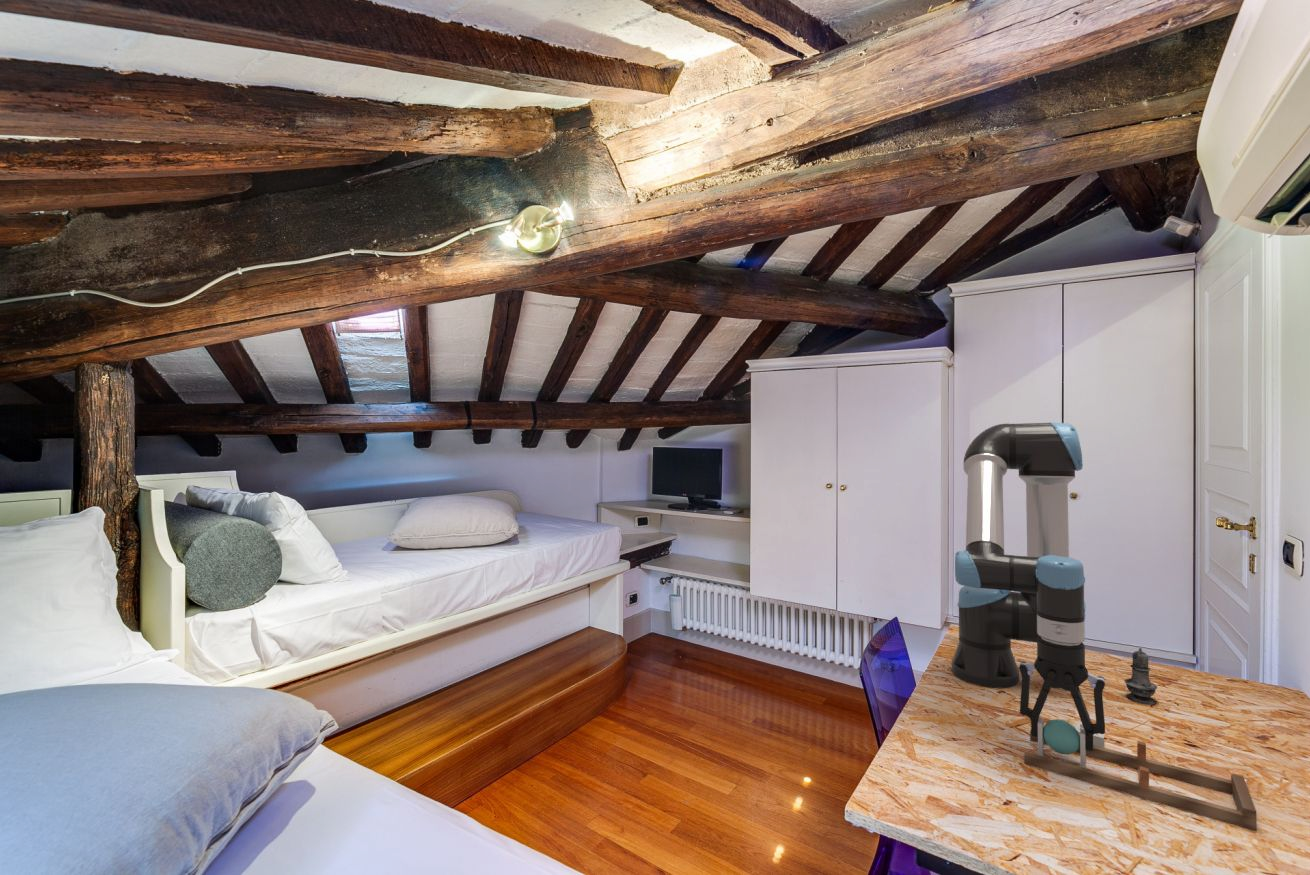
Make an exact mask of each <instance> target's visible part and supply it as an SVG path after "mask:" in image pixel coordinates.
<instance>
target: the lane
mask: <svg viewBox="0 0 1310 875" xmlns="http://www.w3.org/2000/svg"><path fill="white" fill-rule="evenodd" d="M1029 741H1031V742H1033V743H1038V737H1034V736H1032V734H1031V729H1030V731H1029ZM1136 742H1137V743H1136V745H1137V749H1136V750H1137V751H1136V752H1137V754H1136V755H1133V754H1129V753H1127V752H1122V751H1116V750H1114V749H1110V748H1106V747H1104V748H1102V747H1098V746H1094V745H1093V750H1092V751H1089V750H1086V757H1091V758H1095V759H1099V760H1102V761H1107V762H1110V763H1115V764H1117V765H1121V766H1125V767H1128V768H1132V769H1136V770H1137V775H1138V777H1137V778H1138V782H1136V781H1133V780H1130V779H1126V778H1123V777H1119V776H1114V775H1111V774H1109V773H1104V772H1101V771H1098V770H1093V769H1090V768H1083V767H1080V766H1078V765H1075V764H1072V763H1071V764H1070V763H1067V762H1063V761H1061V760H1057V759H1053V758H1050V757H1047V756H1044V755H1043V756H1039V755H1038V754H1034V753H1031V752H1028V751H1025V752H1024V755H1023V756H1024V760H1023V761H1024V762H1023V763H1024V765H1027V766H1031V767H1034V768H1037V769H1041V770H1045V771H1049V772H1052V773H1055V774H1059V775H1062V776H1066V777H1069V778H1071V779H1072V778H1073V779H1076V780H1080V781H1083V782H1087V783H1090V784H1094V785H1097V786H1100V787H1103V788H1107V789H1111V790H1114V791H1118V792H1122V793H1125V794H1129V795H1132V796H1134V797H1139V798H1142V799H1145V800H1149V801H1152V802H1156V803H1160V804H1164V805H1167V806H1170V807H1174V808H1177V809H1181V810H1185V811H1186V812H1187V811H1188V812H1191V813H1194V814H1198V815H1202V816H1205V817H1209V818H1211V819H1212V818H1213V819H1215V820H1219V821H1222V822H1225V823H1230V824H1232V825H1236V826H1239V827H1243V828H1247V829H1250V830H1253V831H1257V823H1258V822H1257V809H1256V806H1255V804H1254V800H1253V799H1252V798H1253V797H1252V795H1251V793H1250V790H1249V788H1248V785H1247V783H1246V780H1245V777H1244V775H1243V776H1242V775H1239V774H1236V773H1235V774H1234V773H1230V777H1231V778H1230V779H1228V778H1223V777H1220V776H1216V775H1212V774H1207V773H1204V772H1200V771H1196V770H1192V769H1190V768H1189V769H1188V768H1185V767H1181V766H1176V765H1173V764H1168V763H1165V762H1161V761H1157V760H1152V759H1149V758H1147V744H1146V742H1145V741H1141V740H1137V741H1136ZM1044 746H1048V745H1047V743H1046V742H1045V740H1044ZM1075 753H1076V754H1078V755H1080V747H1079V749H1078V750H1077V751H1076V752H1075ZM1150 773H1151V774H1155V775H1160V776H1164V777H1166V778H1171V779H1175V780H1179V781H1182V782H1185V783H1190V784H1193V785H1197V786H1200V787H1205V788H1208V789H1213V790H1215V791H1220V792H1222V793H1224V792H1225V793H1228V794H1231V795H1232V797H1233V800H1234V803H1235V805H1236V808H1237V809H1235V808H1231V807H1228V806H1224V805H1220V804H1217V803H1212V802H1208V801H1205V800H1202V799H1198V798H1194V797H1192V796H1189V795H1183V794H1180V793H1177V792H1173V791H1170V790H1167V789H1166V790H1165V789H1162V788H1158V787H1155V786H1150Z"/></svg>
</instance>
